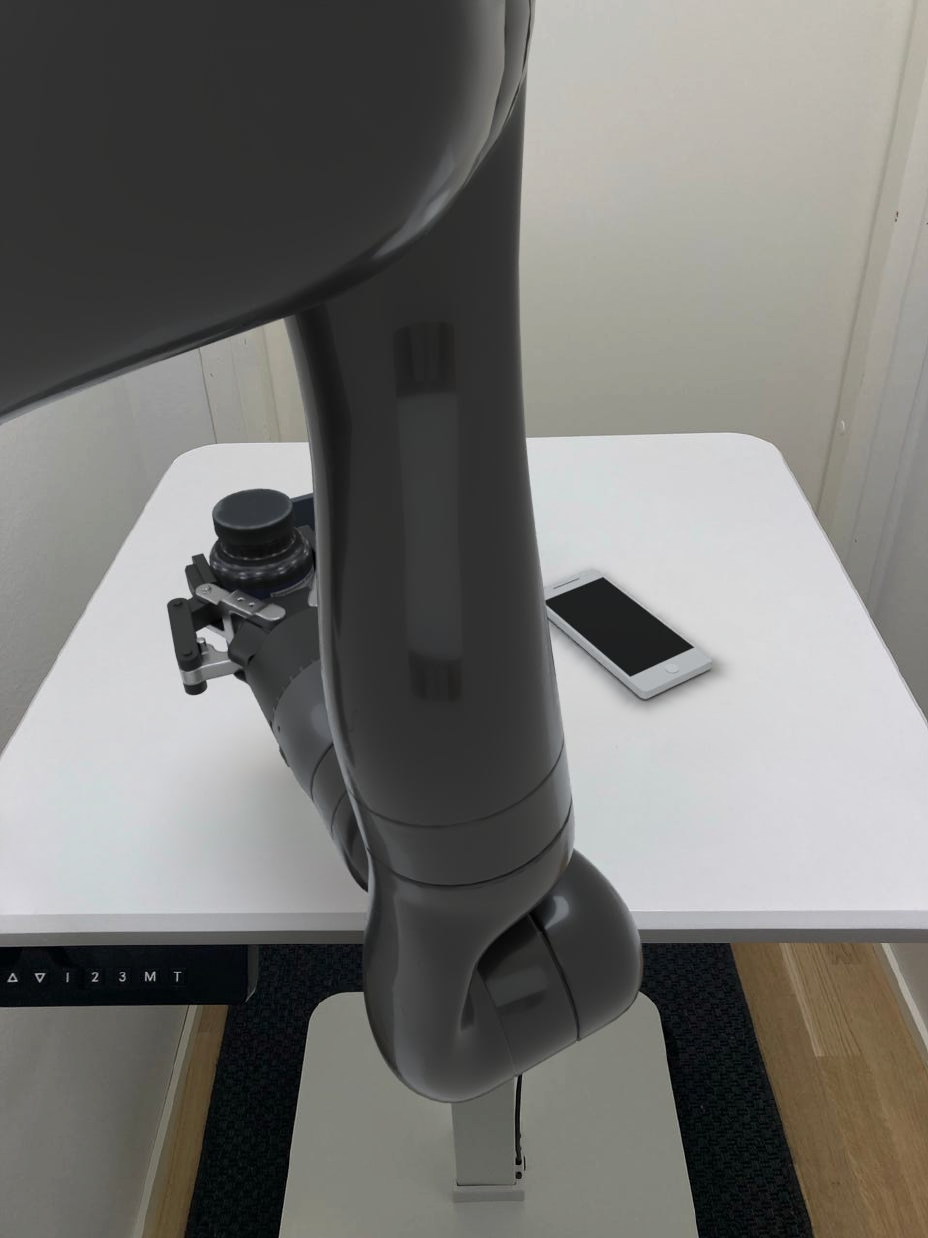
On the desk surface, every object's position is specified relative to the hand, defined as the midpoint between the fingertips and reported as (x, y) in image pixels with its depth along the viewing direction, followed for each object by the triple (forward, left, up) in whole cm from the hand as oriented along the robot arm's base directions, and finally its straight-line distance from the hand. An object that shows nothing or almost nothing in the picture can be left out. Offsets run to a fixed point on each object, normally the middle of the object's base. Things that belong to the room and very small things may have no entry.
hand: (252, 552), depth 61 cm
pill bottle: (0, -2, -7) cm, 7 cm away
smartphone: (+29, 0, -18) cm, 34 cm away
